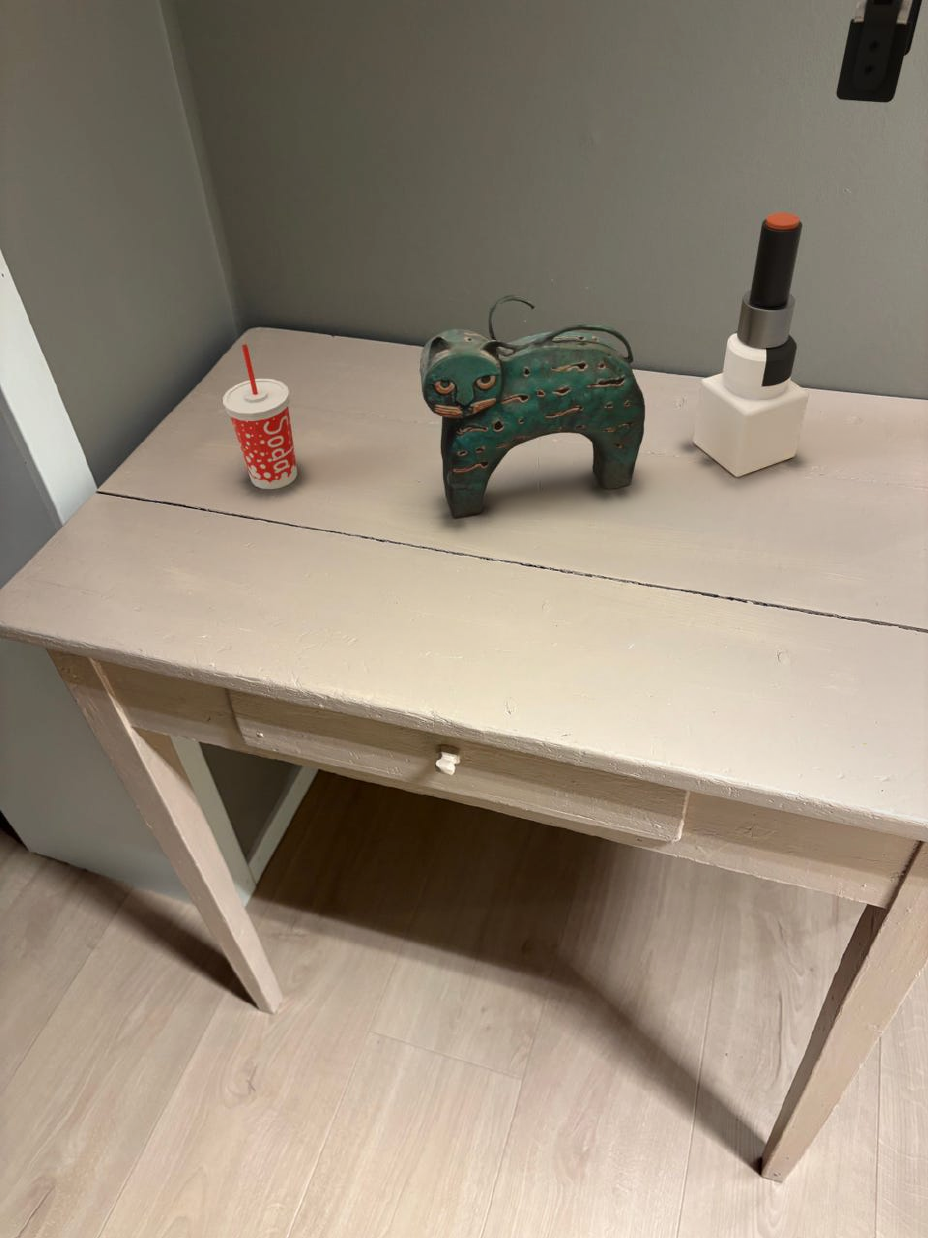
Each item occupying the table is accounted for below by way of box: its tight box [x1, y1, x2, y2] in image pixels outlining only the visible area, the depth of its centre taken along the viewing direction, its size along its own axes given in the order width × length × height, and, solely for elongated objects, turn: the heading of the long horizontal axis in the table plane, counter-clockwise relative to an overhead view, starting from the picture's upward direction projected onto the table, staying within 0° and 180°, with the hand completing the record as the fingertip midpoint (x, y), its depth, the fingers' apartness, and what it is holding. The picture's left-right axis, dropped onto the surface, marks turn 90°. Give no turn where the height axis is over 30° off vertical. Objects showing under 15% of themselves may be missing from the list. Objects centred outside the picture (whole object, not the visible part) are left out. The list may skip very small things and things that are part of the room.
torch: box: [736, 212, 803, 348], centre depth 82 cm, size 4×4×10 cm
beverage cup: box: [222, 344, 298, 490], centre depth 90 cm, size 6×6×14 cm
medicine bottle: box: [692, 330, 810, 478], centre depth 89 cm, size 7×7×12 cm
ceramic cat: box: [419, 294, 646, 519], centre depth 84 cm, size 20×6×20 cm, turn 102°
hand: (873, 75), depth 59 cm, fingers open, 9 cm apart
